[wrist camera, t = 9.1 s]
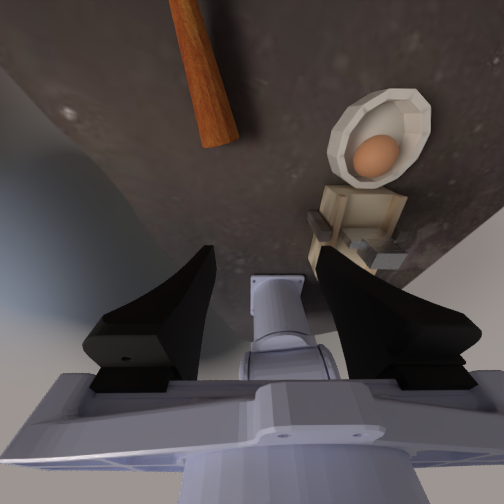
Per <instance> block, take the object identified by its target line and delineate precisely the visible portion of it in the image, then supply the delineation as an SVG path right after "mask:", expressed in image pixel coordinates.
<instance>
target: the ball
mask: <svg viewBox="0 0 504 504" xmlns="http://www.w3.org/2000/svg"><path fill="white" fill-rule="evenodd" d="M398 156H399V146H398V143H397V142H396V140H395V139H394V138H392V137H390V136H388V135H376V136H373V137H370V138H368V139H367V140H365V141H364V142H363V143H362V144H361V145H360V146H359V147H358V149H357V150H356V152H355V154H354V158H353V165H354V168H355V170H356V172H357V173H358V174H359V175H361V176H363V177H367V178H373V177H378V176H381V175H383V174H385V173H386V172H388V171H389V170H390V169H391V168H392V167H393V166H394V164H395V163H396V161H397V159H398Z"/></svg>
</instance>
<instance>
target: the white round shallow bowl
mask: <svg viewBox="0 0 504 504" xmlns="http://www.w3.org/2000/svg"><path fill="white" fill-rule="evenodd" d="M430 132H431V106H430V104H429V103H428V102H427V101H426V100H425V99H424V98H423V96H422V95H421V94H420V93H419V92H418V91H417V90H416V89H386V90H381V91H377V92H372V93H370V94H368V95H367V96H365V97H363V98H362V99H360V100H359V101H357V102H355V103H354V104H352V105H350V106H349V107H348V108H347V109H346V111H345V112H344V113H343V115H342V116H341V118H340V119H339V121H338V122H337V123H336V125H335V126H334V128H333V129H332V132H331V137H330V141H329V146H328V150H327V156H328V159H329V163H330V166H331V170H332V172H333V173H335V174H336V175H337V176H339V177H340V178H341V179H343V180H344V181H345V182H347V183H349V184H350V185H352V186H353V187H355V188H364V189H376V188H378V187H380V186H383V185H385V184H387V183H389V182H391V181H393V180H395V179H397V178H399V177H400V176H401V175H402V174H403V173H404V172H405V171H406V170H407V169H408V168H409V167H410V166H411V165H412V164H413V163H414V162H415V161H416V160H417V159H418V157H419V155H420V153H421V151H422V149H423V147H424V145H425V143H426V141H427V139H428V137H429V135H430ZM376 135H388V136H390V137H392V138H394V139H395V140H396V142H397V143H398V146H399V156H398V159H397V161H396V163H395V164H394V166H393V167H392V168H391V169H390V170H389V171H388V172H386V173H385V174H383V175H381V176H378V177H373V178H367V177H363V176H361V175H359V174H358V173H357V172H356V170H355V168H354V165H353V158H354V154H355V152H356V150H357V149H358V147H359V146H360V145H361V144H362V143H363V142H364V141H365V140H367V139H368V138H370V137H373V136H376Z"/></svg>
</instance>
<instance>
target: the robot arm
mask: <svg viewBox="0 0 504 504" xmlns="http://www.w3.org/2000/svg"><path fill="white" fill-rule="evenodd" d="M216 270H217V267H216V260H215V253H214V246H213V245H204V246H203V247H202V248H201V249H200V250H199V251H198V252H197V253H196V254H195V256H194V257H193V258H192V259H191V260H190V261H189V262H188V263H187V264H186V265H185V266H183V267H182V268H181V269H180V270H179V271H178V272H177V273H176V274H174V275H173V276H172V277H171V278H169V279H168V280H167V281H165V282H164V283H162V284H161V285H159V286H158V287H156V288H155V289H153V290H151V291H150V292H148V293H147V294H145V295H143V296H141V297H140V298H138V299H136V300H134V301H132V302H130V303H128V304H126V305H124V306H122V307H120V308H118V309H116V310H113V311H111V312H109V313H107V314H104V315H103V316H102V318H101V319H100V320H99V322H98V323H97V324H96V326H95V327H94V328H93V330H92V331H91V332H90V334H89V335H88V337H87V338H86V339H85V340H84V342H83V344H82V346H83V350H84V352H85V353H86V354H87V355H88V356H89V357H90V358H91V359H92V360H93V361H95V362H96V363H97V364H98V365H99V366H100V367H101V368H100V370H99V372H98V373H97V375H94V374H90V373H63V374H61V375H60V376H59V377H58V379H57V380H56V381H55V383H54V384H53V385H52V387H51V388H50V389H49V391H48V392H47V393H46V395H45V396H44V398H43V399H42V400H41V402H40V403H39V404H38V406H37V407H36V408H35V410H34V411H33V413H32V414H31V415H30V417H29V418H28V419H27V421H26V422H25V423H24V425H23V426H22V427H21V429H20V430H19V431H18V433H17V434H16V436H15V437H14V438H13V439H12V441H11V442H10V444H9V445H8V446H7V448H6V449H5V450H4V452H3V453H2V454H1V456H0V463H2V464H8V465H14V466H21V467H27V468H34V469H40V470H47V471H73V470H74V471H147V472H183V478H182V483H181V489H180V494H179V499H178V504H430V503H429V500H428V498H427V496H426V494H425V492H424V490H423V487H422V485H421V483H420V481H419V479H418V477H417V475H416V472H415V470H414V468H426V467H446V466H471V465H504V371H501V370H477V371H472V372H468V371H467V370H466V369H465V368H464V367H463V365H465V364H466V361H465V360H464V359H463V358H462V356H461V355H460V354H461V353H463V352H464V351H465V350H467V349H468V348H470V347H471V346H473V345H474V344H475V343H477V342H478V341H479V340H480V338H481V336H482V331H481V330H480V329H479V328H478V327H477V326H476V325H475V324H474V323H473V322H472V321H471V320H470V319H469V318H467V317H466V316H465V315H464V314H463V313H460V312H457V311H454V310H451V309H448V308H445V307H442V306H440V305H437V304H434V303H431V302H429V301H427V300H424V299H422V298H419V297H417V296H414V295H412V294H410V293H407V292H405V291H403V290H401V289H399V288H397V287H395V286H393V285H391V284H389V283H387V282H385V281H383V280H382V279H380V278H378V277H376V276H374V275H373V274H371V273H370V272H368V271H366V270H365V269H363V268H362V267H360V266H359V265H357V264H356V263H355V262H353V261H352V260H350V259H349V258H348V257H346V256H345V255H344V254H342V253H341V252H339V251H338V250H337V249H335V248H334V247H332V246H321V249H320V253H319V256H318V260H317V264H316V267H315V271H316V275H317V278H318V282H319V284H320V287H321V289H322V291H323V294H324V296H325V298H326V301H327V303H328V305H329V307H330V310H331V312H332V315H333V318H334V321H335V324H336V328H337V331H338V334H339V338H340V341H341V345H342V349H343V353H344V357H345V361H346V366H347V371H348V375H349V379H341V378H340V375H339V371H338V368H337V365H336V363H335V360H334V358H333V356H332V354H331V352H330V351H329V350H328V349H327V348H326V347H325V346H324V345H323V344H319V345H317V343H316V340H315V337H314V335H311V334H310V330H309V327H308V323H307V319H306V316H305V312H304V309H303V305H302V302H301V298H300V295H301V291H302V287H303V283H304V279H305V278H304V276H303V275H252V276H251V315H253V316H254V342H251V351H250V352H246V353H245V355H244V357H243V358H242V359H241V363H240V369H239V380H203V381H197V375H198V366H199V358H200V351H201V344H202V337H203V330H204V324H205V318H206V313H207V309H208V306H209V302H210V298H211V295H212V291H213V287H214V283H215V278H216ZM253 280H255V281H253ZM300 280H301V281H300Z"/></svg>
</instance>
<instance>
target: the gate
mask: <svg viewBox="0 0 504 504" xmlns="http://www.w3.org/2000/svg"><path fill="white" fill-rule="evenodd" d="M338 235H339V236H340V237H341V239H342V240H343V241H344V243H345V244H346V245H347V247H348V248H349V249H357V251H356V253H357V254H358V255H359V256H360V258H361V259H362V260H363V261H364V263H365V264H366V265H367V266H368V268H369V269H399V267H400V266H401V264H402V263H403V261H404V259H405V258H406V256H407V255H408V253H407V252H406V251H404V250H403V249H402V248H401V247H400V246H398V245H397V244H396V243H395V242H396V241H395V240H394V239H393V238H391V237H390V236H389V235H388V234H387V233H385V232H384V231H383V230H382V229H381V228H340V231H339V234H338Z"/></svg>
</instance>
